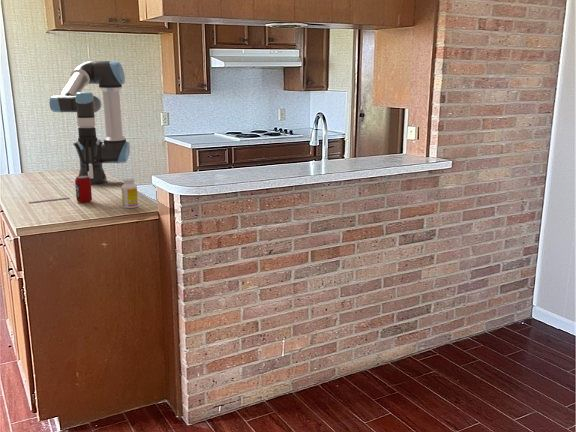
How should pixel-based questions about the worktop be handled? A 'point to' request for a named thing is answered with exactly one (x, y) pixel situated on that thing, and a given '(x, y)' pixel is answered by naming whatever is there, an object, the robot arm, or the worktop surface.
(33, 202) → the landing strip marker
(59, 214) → the worktop surface
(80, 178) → the beverage can
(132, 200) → the supplement bottle
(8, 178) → the worktop surface
